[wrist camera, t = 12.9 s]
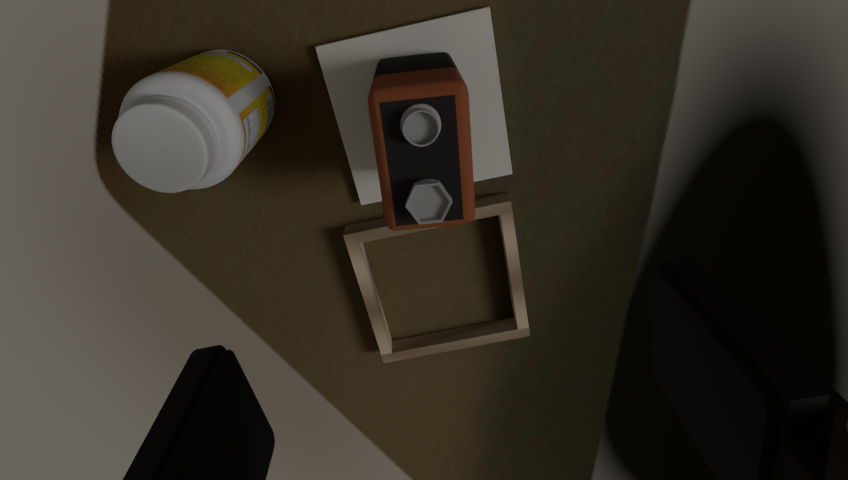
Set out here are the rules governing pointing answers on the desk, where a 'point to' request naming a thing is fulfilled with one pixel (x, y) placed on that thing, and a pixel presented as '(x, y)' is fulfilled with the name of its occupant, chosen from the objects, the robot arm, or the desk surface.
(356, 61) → the ceramic pad
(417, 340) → the holder frame
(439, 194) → the battery
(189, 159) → the supplement bottle
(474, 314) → the desk surface
